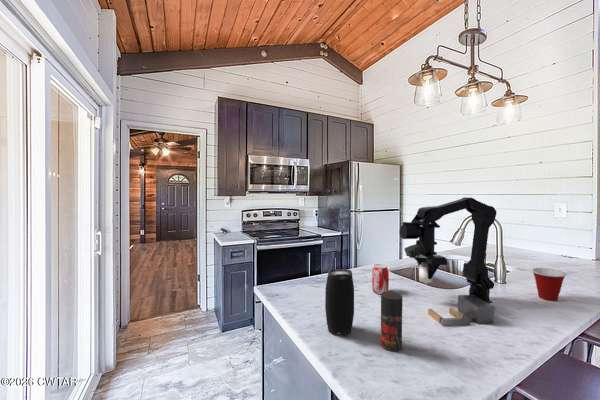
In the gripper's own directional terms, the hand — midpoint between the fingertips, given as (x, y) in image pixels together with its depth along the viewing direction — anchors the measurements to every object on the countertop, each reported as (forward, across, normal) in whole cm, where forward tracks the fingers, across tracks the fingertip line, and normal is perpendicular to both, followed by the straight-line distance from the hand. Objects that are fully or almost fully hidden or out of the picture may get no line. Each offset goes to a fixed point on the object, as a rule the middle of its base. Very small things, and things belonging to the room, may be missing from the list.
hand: (426, 276), depth 108 cm
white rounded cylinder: (+2, 0, 0) cm, 2 cm away
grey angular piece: (+11, +12, +5) cm, 17 cm away
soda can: (+11, -13, -14) cm, 22 cm away
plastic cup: (+11, 0, +54) cm, 55 cm away
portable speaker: (+11, +18, -40) cm, 45 cm away
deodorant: (+11, +28, -27) cm, 40 cm away
